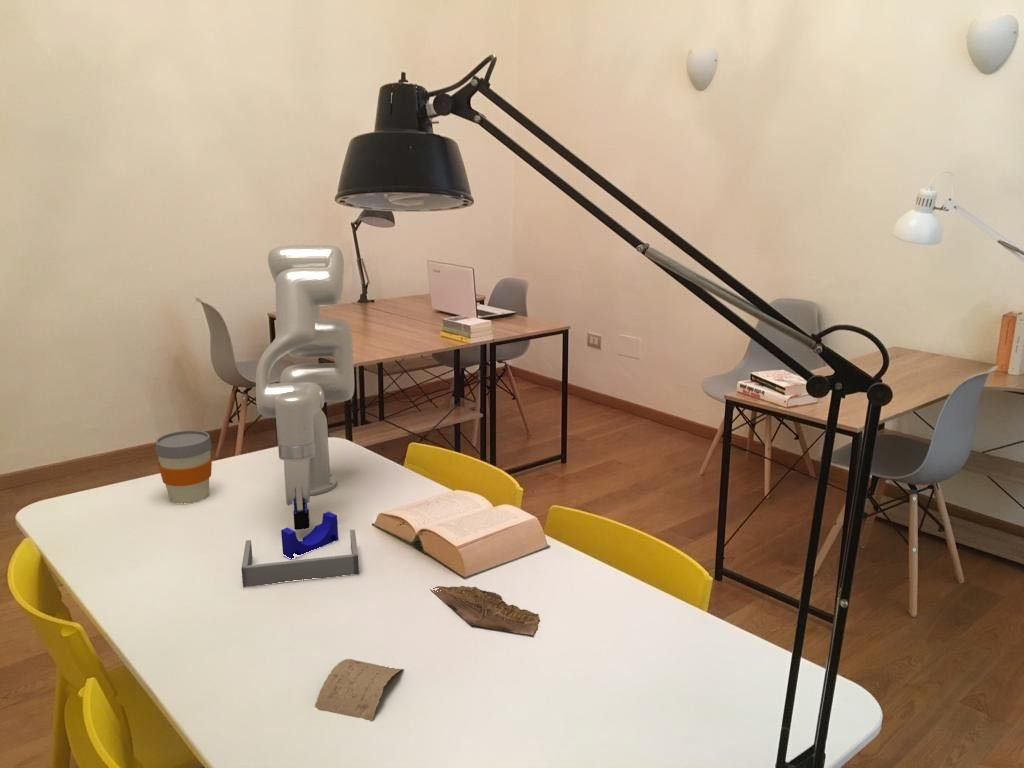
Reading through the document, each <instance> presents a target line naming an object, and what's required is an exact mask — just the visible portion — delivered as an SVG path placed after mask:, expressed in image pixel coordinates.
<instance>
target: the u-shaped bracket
mask: <svg viewBox="0 0 1024 768" xmlns="http://www.w3.org/2000/svg"><path fill="white" fill-rule="evenodd" d="M349 534H350V535H349V536H350V538H349V539H350V549H351V550H350V552H351V553H350V554H341V555H333V556H322V557H313V558H305V559H297V560H296V559H293V560H287V561H277V562H268V563H258V564H252V563H253V547H252V540H251V539H249V540H248V539H246V540H245V543H244V549H243V555H242V562H241V567H240V569H241V579H242V580H241V581H242V587H243V588H249V587H258V585H259V586H266V585H265V584H268V585H273V584H272V583H277V584H279V583H278V582H285V581H293V580H302V579H303V581H305V580H304V579H312V578H321V579H328V578H327V577H330V578H337V577H336V576H339V577H343V576H342V575H347V576H352V575H351V574H356V575H359V574H360V564H359V563H360V562H359V552H358V545H357V543H358V542H357V536H356V529H350V530H349ZM312 580H313V579H312Z"/></svg>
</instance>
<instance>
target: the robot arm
mask: <svg viewBox="0 0 1024 768" xmlns="http://www.w3.org/2000/svg"><path fill="white" fill-rule="evenodd" d="M267 264H268V267H269V271H270V274H271V276H272V279H273V281H274V283H275V329H276V331H275V332H276V335H275V338H274V339H273V341H272V342H271V343H270V344H269V345H268V347H267V348H266V349H265V350H264V352H263V353H262V355H261V357H260V358H259V360H258V363H257V366H256V371H255V372H256V373H255V402H256V408H257V411H258V413H259V414H260V415H261V416H263V417H264V418H267V419H268V418H269V419H270V418H273V419H274V418H275V422H276V424H275V425H276V433H277V434H276V435H277V436H276V437H277V447H278V458H279V459H280V460H281V461H284V462H283V464H284V465H283V467H284V468H283V471H284V473H283V474H284V487H285V489H284V490H285V504H286V505H287V506H290V505H292V504H293V514H292V515H293V526H294V531H297V530H298V531H301V530H309V529H310V526H311V525H310V510H309V508H308V503H310V499H311V496H313V495H320V494H323V493H327V492H329V491H331V490H333V489H334V488H335V487H336V486H337V484H338V483H337V482H338V480H337V477H336V476H335V475H333V474H331V466H330V465H331V464H330V450H329V434H328V419H327V416H326V414H325V413H324V411H323V408H324V405H325V403H336V402H346V401H349V400H351V399H352V398H353V397H354V394H355V367H354V366H355V365H354V349H353V348H354V347H353V346H354V345H353V335H352V329H351V327H350V324H349V323H348V322H347V321H346V320H344V319H341V318H322V317H321V314H320V313H321V312H320V311H321V309H320V306H328V305H329V306H333V305H337V304H339V302H340V301H341V300H342V295H343V292H344V291H343V290H344V274H345V273H344V271H345V269H344V268H345V260H344V255H343V253H342V249H340V248H339V247H338V246H335V245H327V244H325V245H323V244H319V245H317V244H316V245H315V244H314V245H304V244H302V245H301V244H296V245H293V244H291V245H281V246H276V247H274V248H272V249H271V250H270V251H269V252H268V255H267ZM286 354H288V355H289V356H290V357H292V358H296V359H321V358H322V359H323V358H324V359H326V358H330V359H332V360H334V362H329V363H327V362H326V363H325V362H324V363H318V362H316V363H298V364H291V365H289V366H287V367H286V368H284V369H283V370H282V372H281V375H280V379H279V382H277V383H276V382H275V383H270V382H271V381H270V377H271V371H272V368H273V367H274V365H275V364H276V362H278V360H279V359H281V358H282V357H284V356H285V355H286Z"/></svg>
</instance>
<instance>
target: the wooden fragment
mask: <svg viewBox="0 0 1024 768" xmlns="http://www.w3.org/2000/svg"><path fill="white" fill-rule="evenodd" d="M436 586H437V585H436ZM435 588H439V589H437V590H436V591H435V590H433V591H434V592H435V593H434V592H432V593H433V594H434V595H436V597H438V598H439V599H440V600H441V601H443V602H444V603H445V604H446V605H447V606H449V607H451V609H452V610H453V611H455V612H456V614H458V615H459V616H460V617H461V618H462V619H464V620H465V621H466V623H468V625H470V626H471V627H481V628H486V629H491V630H498V631H502V632H510V633H515V634H519V635H520V634H521V635H530V636H532V637H533V638H534V637H535V635H536V633H537V632H538V630H539V629H538V627H539V623H540V617H539V613H534V612H532V611H530V610H528V609H525V608H524V609H521V608H520V607H519V606H517V605H515V604H510V605H509V604H507V602H506V601H504V600H503V599H502V596H501V595H500V594H498V593H496V592H493V591H487V590H482V589H480V588H478V587H477V586H473V587H471V586H468V585H467V586H465V585H460V586H454V585H453V586H443V585H442V586H441V585H439V586H437V587H435ZM435 588H433V589H435ZM440 590H441V591H440ZM437 591H438V592H437ZM536 631H537V632H536Z"/></svg>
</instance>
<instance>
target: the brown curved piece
mask: <svg viewBox="0 0 1024 768" xmlns="http://www.w3.org/2000/svg"><path fill="white" fill-rule="evenodd" d="M389 667H390V666H387V667H385V665H381V666H380V664H375V663H371V662H366V661H360V660H355V659H352V658H345V659H343V660H341V661H339V662H338V663H337V665H335V666H334V667H333V668H332V669H331V671H330V673H329V674H328V675H327V677H326V679H325V680H324V682H323V685H322V686H321V688H320V690H319V692H318V696H317V698H316V702H315V704H314V708H316V709H317V710H318V711H322V712H328V713H332V714H337V715H342V716H347V717H351V718H357V719H363V720H365V721H369V722H370V721H371V722H372V721H374V717H375V714H376V711H377V709H376V708H377V707H378V705H379V703H380V700H381V699H380V698H381V697H382V695H383V692H384V687H385V686H386V685H387V684H388V682H389V681H390V680H391V679H392V677H393V676H395V675H396V674H397V673H399V672H400V671H403V670H404V668H397V669H395V668H396V667H392V668H389Z"/></svg>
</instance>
